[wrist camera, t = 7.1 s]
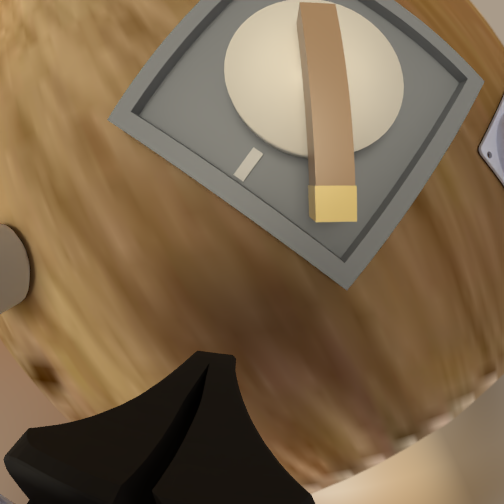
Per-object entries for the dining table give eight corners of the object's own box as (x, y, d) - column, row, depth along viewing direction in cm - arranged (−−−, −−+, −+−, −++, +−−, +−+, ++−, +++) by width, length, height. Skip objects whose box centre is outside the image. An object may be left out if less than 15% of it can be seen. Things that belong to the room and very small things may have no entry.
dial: (378, 20, 14) (401, -12, 10) (398, 211, 17) (433, 221, 13) (226, 17, 15) (215, -20, 11) (235, 215, 18) (223, 225, 13)
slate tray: (468, 87, 16) (484, 81, 14) (339, 279, 20) (346, 290, 17) (273, -46, 14) (273, -62, 12) (122, 125, 18) (107, 119, 16)
